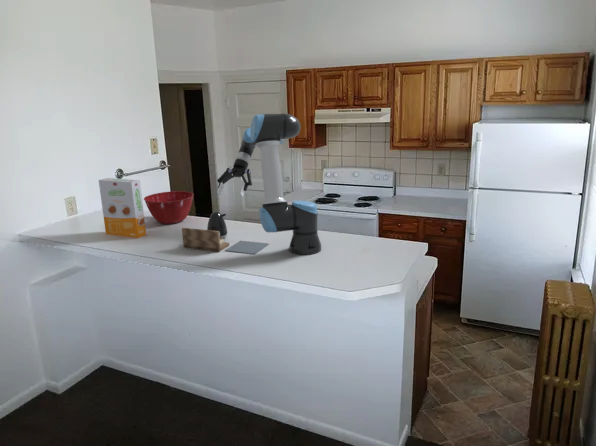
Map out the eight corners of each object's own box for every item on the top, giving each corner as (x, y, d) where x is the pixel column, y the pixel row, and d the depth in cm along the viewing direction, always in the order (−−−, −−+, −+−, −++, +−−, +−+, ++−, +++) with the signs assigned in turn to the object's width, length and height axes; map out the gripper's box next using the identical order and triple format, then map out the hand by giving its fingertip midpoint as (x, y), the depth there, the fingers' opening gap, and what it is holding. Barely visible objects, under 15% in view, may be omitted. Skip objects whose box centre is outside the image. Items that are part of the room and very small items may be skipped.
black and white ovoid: (224, 243, 233) (222, 214, 228) (204, 243, 235) (202, 213, 231) (230, 237, 242) (229, 209, 238) (212, 237, 244) (210, 209, 240)
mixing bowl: (166, 230, 258) (164, 203, 254) (136, 223, 275) (133, 197, 271) (205, 219, 280) (203, 194, 276) (175, 213, 297) (172, 189, 292)
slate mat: (269, 244, 230) (269, 243, 230) (254, 254, 216) (254, 253, 216) (240, 241, 236) (240, 240, 236) (224, 251, 222) (224, 250, 221)
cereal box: (146, 235, 250) (139, 180, 242) (138, 238, 245) (131, 182, 237) (114, 231, 259) (107, 178, 251) (105, 234, 254) (98, 180, 246)
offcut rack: (229, 245, 229) (228, 226, 227) (218, 251, 220) (217, 231, 218) (194, 241, 237) (193, 223, 234) (183, 247, 228) (181, 228, 225)
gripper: (264, 167, 253) (253, 200, 244) (224, 165, 262) (212, 197, 253) (259, 159, 247) (248, 192, 238) (219, 157, 256) (206, 189, 247)
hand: (229, 194), depth 246 cm, fingers open, 13 cm apart
